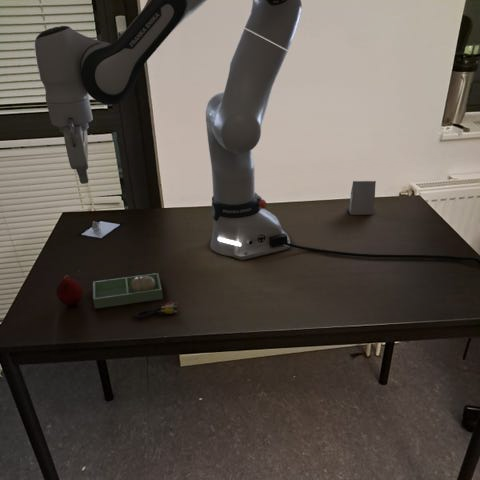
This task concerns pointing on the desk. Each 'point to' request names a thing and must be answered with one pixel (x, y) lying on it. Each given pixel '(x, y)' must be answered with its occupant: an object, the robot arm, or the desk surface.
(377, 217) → the desk surface
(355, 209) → the grey rectangular block
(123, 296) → the holder
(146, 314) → the composite cable
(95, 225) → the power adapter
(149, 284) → the cream rounded lump
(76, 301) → the onion
